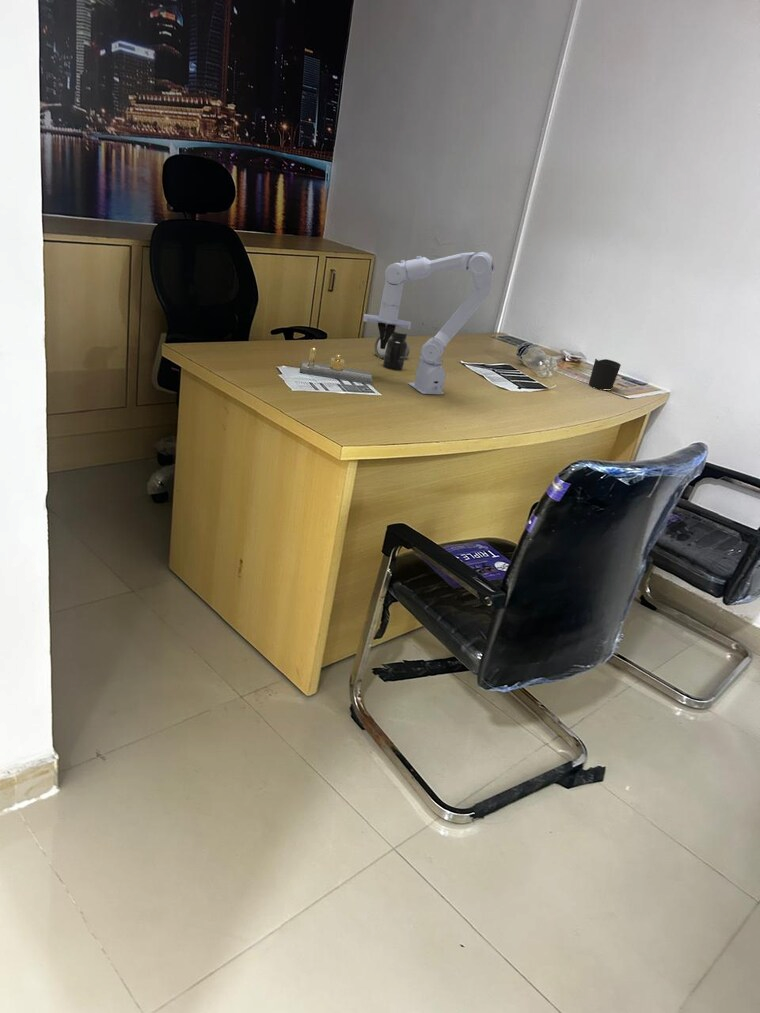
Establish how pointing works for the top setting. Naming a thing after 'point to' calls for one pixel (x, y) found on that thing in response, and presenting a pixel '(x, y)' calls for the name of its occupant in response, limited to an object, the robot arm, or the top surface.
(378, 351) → the pipe fitting
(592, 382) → the pen holder
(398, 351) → the supplement bottle
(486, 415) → the top surface
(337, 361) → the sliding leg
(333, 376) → the bolt plate
